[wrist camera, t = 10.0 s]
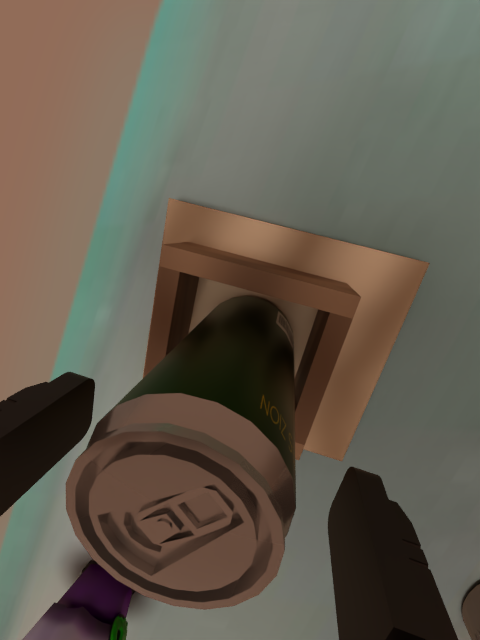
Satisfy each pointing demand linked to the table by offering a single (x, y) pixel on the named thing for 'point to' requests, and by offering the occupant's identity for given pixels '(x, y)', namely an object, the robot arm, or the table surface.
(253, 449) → the beer can
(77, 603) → the potion bottle
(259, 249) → the can caddy
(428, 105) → the table surface
